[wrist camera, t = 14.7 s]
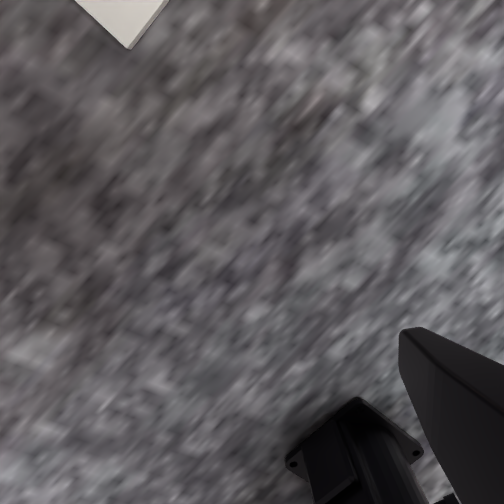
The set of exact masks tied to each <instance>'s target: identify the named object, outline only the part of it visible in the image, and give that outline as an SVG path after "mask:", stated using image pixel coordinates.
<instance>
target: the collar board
mask: <svg viewBox="0 0 504 504" xmlns="http://www.w3.org/2000/svg"><path fill="white" fill-rule="evenodd" d="M75 1H76V2H77V3H78V4H79V5H80V6H82V7H83V8H84V9H85V10H86V11H87V12H88V13H89V14H90V15H91V16H92V17H93V18H94V19H96V20H97V21H98V22H99V23H100V24H101V25H102V26H103V27H104V28H105V29H106V30H107V31H108V32H110V33H111V34H112V35H113V36H114V37H115V38H116V39H117V40H118V41H119V42H120V43H121V44H122V45H124V46H125V47H126V48H127V49H132V48H133V47H134V46H135V44H136V43H137V42H138V40H139V39H140V38H141V37H142V35H143V34H144V33H145V31H146V30H147V29H148V28H149V26H150V25H151V24H152V22H153V21H154V20H155V18H156V17H157V16H158V15H159V13H160V12H161V11H162V9H163V8H164V7H165V6H166V4H167V3H168V2H169V0H75Z"/></svg>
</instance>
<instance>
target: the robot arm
mask: <svg viewBox="0 0 504 504" xmlns="http://www.w3.org/2000/svg"><path fill="white" fill-rule="evenodd" d="M398 366H399V372H400V375H401V378H402V380H403V383H404V385H405V387H406V390H407V392H408V395H409V397H410V399H411V402H412V404H413V407H414V409H415V411H416V414H417V416H418V418H419V421H420V423H421V426H422V428H423V430H424V433H425V435H426V437H427V440H428V442H429V444H430V446H431V448H432V450H433V452H434V454H435V456H436V458H437V460H438V462H439V463H440V465H441V467H442V469H443V471H444V473H445V474H446V476H447V478H448V480H449V482H450V483H451V485H452V487H453V489H454V491H455V492H456V494H457V496H458V498H459V500H460V501H461V503H462V504H504V365H502V364H500V363H498V362H495V361H493V360H491V359H489V358H487V357H485V356H483V355H481V354H478V353H476V352H474V351H472V350H470V349H468V348H466V347H464V346H461V345H459V344H457V343H455V342H453V341H451V340H449V339H447V338H444V337H442V336H440V335H438V334H436V333H434V332H432V331H430V330H427V329H425V328H423V327H415V328H408V329H403V330H402V331H401V332H400V334H399V355H398ZM358 407H360V408H358ZM356 408H358V409H356ZM423 453H424V450H423V448H422V446H421V445H420V443H418V442H417V441H416V440H414V439H413V438H412V437H411V436H409V435H408V434H407V433H405V432H404V431H403V430H402V429H400V428H399V427H398V426H396V425H395V424H394V423H393V422H391V421H390V420H389V419H387V418H386V417H385V416H384V415H382V414H381V413H380V412H378V411H377V410H376V409H375V408H373V407H372V406H371V405H369V404H368V403H367V402H366V401H364V400H362V399H355V400H353V401H352V402H350V403H349V404H348V405H347V406H346V407H344V408H343V409H342V410H341V411H340V412H338V413H337V414H336V415H335V416H334V417H332V418H331V419H330V420H329V421H328V422H326V423H325V424H324V425H323V426H322V427H320V428H319V429H318V430H317V431H316V432H314V433H313V434H312V435H311V436H310V437H308V438H307V439H306V440H305V441H304V442H302V443H301V444H300V445H299V446H298V447H296V448H295V449H294V450H293V451H292V452H290V453H289V454H288V455H287V456H286V457H285V465H286V468H287V469H288V470H290V471H292V472H293V473H295V474H296V475H298V476H299V477H301V478H302V479H304V480H306V481H307V482H309V485H310V489H311V493H312V497H313V502H314V504H429V502H428V500H427V498H426V496H425V494H424V492H423V490H422V488H421V486H420V484H419V482H418V480H417V478H416V476H415V474H414V472H413V470H412V468H411V466H410V465H411V464H412V463H414V462H415V461H416V460H417V459H419V458H420V457H421V456H422V455H423ZM443 498H444V499H443V500H441V501H439V502H436V503H434V504H459V502H458V501H457V499H456V497H455V495H454V494H453V493H452V494H449V495H447V496H445V497H443Z"/></svg>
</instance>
